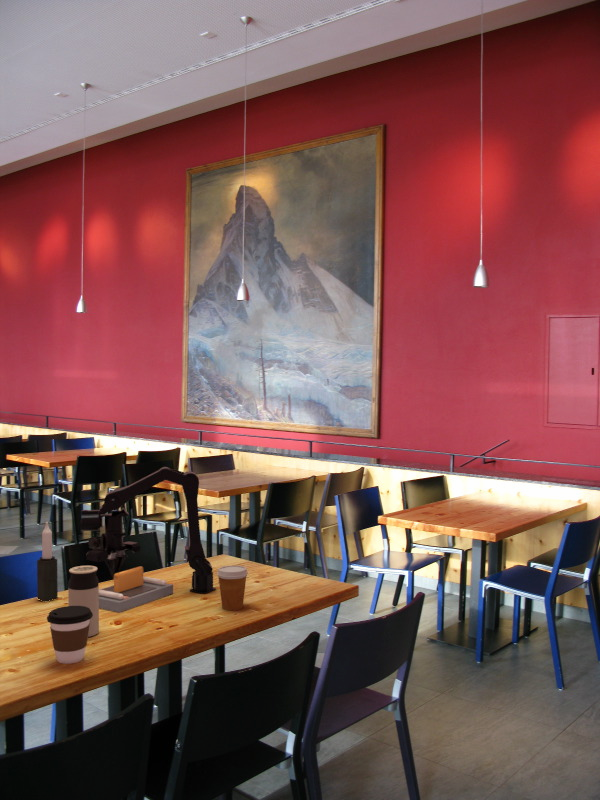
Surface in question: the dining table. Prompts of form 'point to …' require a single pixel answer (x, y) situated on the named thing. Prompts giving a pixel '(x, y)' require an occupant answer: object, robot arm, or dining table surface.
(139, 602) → the grey flat rectangular tray
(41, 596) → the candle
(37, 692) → the dining table surface
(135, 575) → the orange rectangular slab
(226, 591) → the disposable coffee cup
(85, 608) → the coffee cup
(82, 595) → the travel mug
